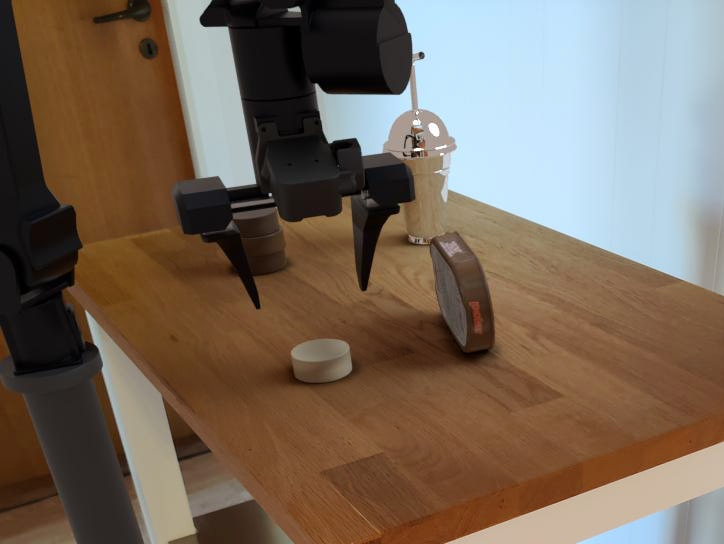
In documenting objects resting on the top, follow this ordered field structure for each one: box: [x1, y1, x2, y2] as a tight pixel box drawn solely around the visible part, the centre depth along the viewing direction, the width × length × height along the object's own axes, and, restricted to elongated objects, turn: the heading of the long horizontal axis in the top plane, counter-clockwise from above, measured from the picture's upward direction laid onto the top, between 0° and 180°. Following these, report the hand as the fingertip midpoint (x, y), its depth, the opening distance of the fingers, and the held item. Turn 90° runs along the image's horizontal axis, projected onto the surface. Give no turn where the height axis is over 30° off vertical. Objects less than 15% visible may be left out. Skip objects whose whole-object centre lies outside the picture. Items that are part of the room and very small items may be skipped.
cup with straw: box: [381, 51, 458, 245], centre depth 112 cm, size 8×9×20 cm
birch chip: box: [290, 338, 353, 384], centre depth 88 cm, size 5×5×2 cm
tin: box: [429, 230, 496, 354], centre depth 91 cm, size 15×3×8 cm, turn 14°
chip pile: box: [232, 207, 288, 276], centre depth 112 cm, size 6×6×6 cm
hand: (311, 298), depth 85 cm, fingers open, 9 cm apart
